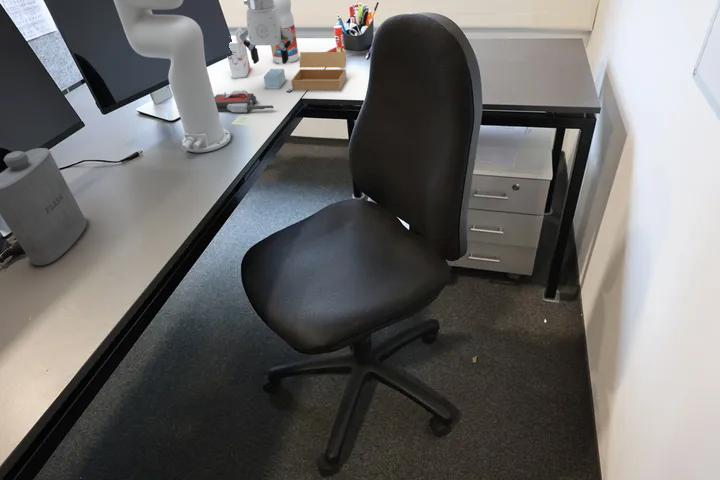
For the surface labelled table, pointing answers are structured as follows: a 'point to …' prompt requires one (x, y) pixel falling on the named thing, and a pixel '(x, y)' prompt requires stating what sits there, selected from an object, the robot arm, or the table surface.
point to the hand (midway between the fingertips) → (270, 62)
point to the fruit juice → (287, 23)
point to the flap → (322, 59)
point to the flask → (39, 205)
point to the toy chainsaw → (237, 102)
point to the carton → (319, 79)
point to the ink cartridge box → (238, 56)
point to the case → (274, 78)
